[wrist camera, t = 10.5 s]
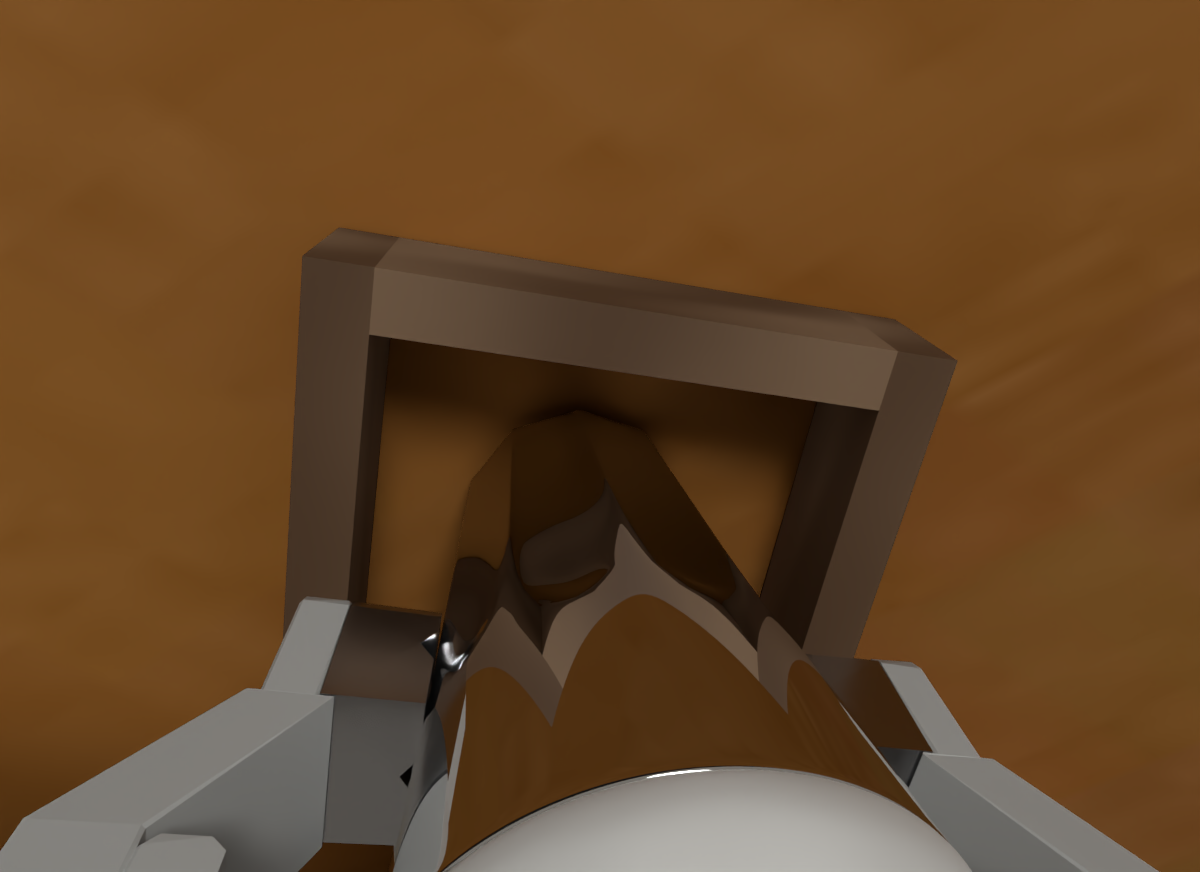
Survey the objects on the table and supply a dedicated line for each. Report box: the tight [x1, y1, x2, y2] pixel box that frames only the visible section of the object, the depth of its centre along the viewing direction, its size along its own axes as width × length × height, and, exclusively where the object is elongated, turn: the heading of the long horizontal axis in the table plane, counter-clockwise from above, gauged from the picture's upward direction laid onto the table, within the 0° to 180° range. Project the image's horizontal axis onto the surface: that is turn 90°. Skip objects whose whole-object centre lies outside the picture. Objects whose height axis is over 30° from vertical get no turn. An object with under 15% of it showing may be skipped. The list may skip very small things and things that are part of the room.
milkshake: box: [388, 410, 972, 872], centre depth 9 cm, size 4×5×10 cm
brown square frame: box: [283, 228, 957, 658], centre depth 13 cm, size 8×8×2 cm
